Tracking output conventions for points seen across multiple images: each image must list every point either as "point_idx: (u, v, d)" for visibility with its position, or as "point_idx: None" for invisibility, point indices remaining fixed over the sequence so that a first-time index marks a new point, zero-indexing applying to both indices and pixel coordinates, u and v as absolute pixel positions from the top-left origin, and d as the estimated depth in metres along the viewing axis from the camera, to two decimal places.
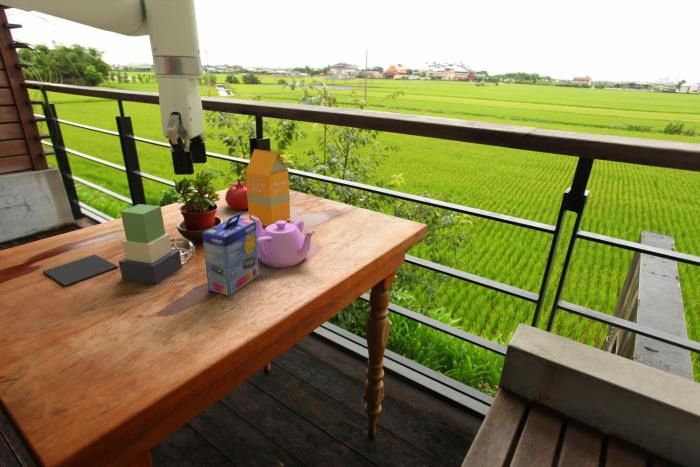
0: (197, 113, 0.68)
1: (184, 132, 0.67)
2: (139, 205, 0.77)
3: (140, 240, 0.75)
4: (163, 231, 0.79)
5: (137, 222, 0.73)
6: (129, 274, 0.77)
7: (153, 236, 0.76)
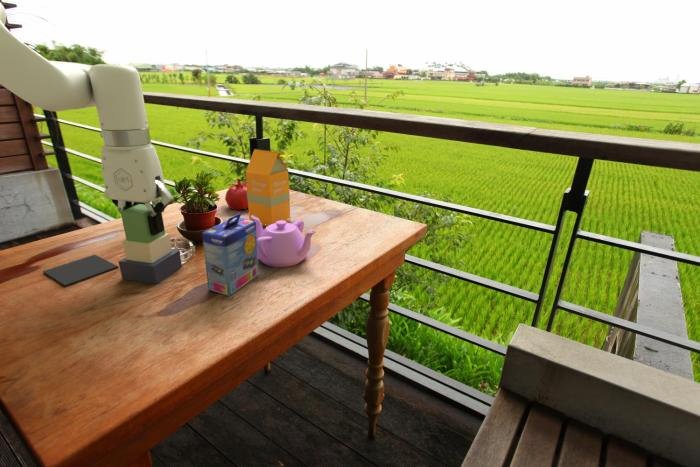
0: None
1: None
2: (139, 205, 0.77)
3: (140, 240, 0.75)
4: (163, 231, 0.79)
5: (137, 221, 0.73)
6: (129, 274, 0.77)
7: (153, 236, 0.76)
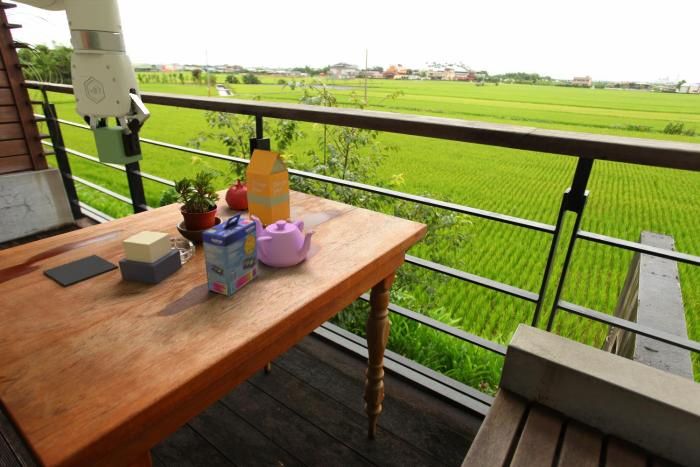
0: None
1: None
2: (114, 126, 0.71)
3: (114, 161, 0.69)
4: (140, 156, 0.73)
5: (110, 140, 0.68)
6: (129, 274, 0.77)
7: (128, 158, 0.70)
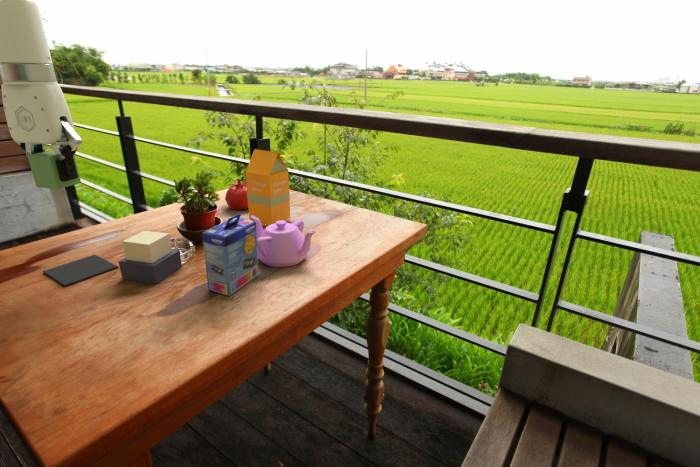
0: None
1: (61, 136, 0.70)
2: (51, 151, 0.74)
3: (49, 186, 0.72)
4: (78, 179, 0.75)
5: (44, 165, 0.70)
6: (129, 274, 0.77)
7: (64, 182, 0.72)
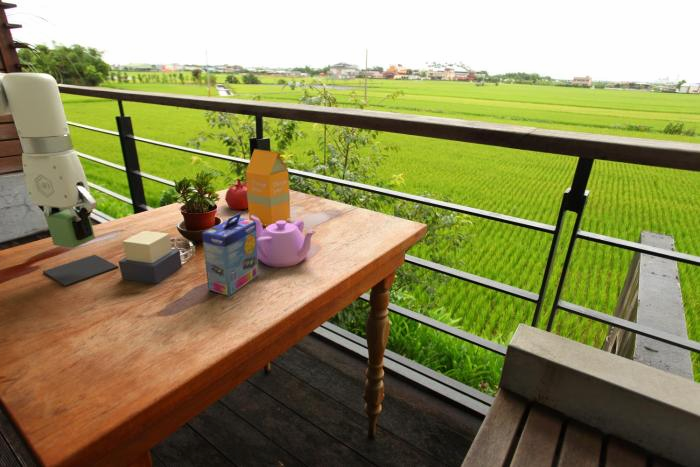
0: None
1: (78, 198, 0.75)
2: (67, 210, 0.78)
3: (66, 245, 0.76)
4: (92, 235, 0.80)
5: (61, 227, 0.75)
6: (129, 274, 0.77)
7: (80, 241, 0.77)
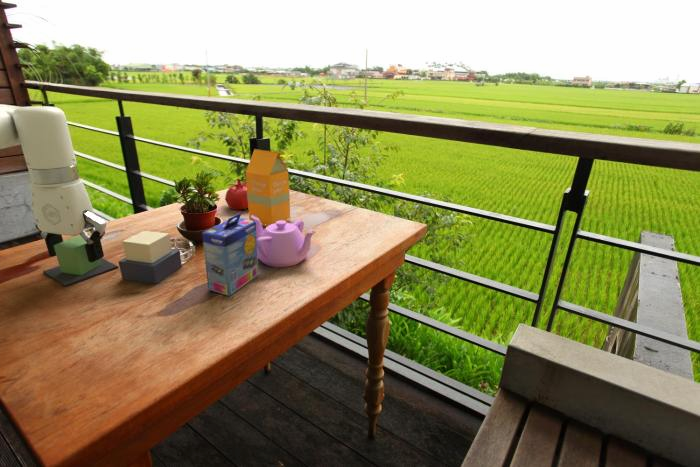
0: None
1: (83, 225, 0.77)
2: (74, 238, 0.80)
3: (73, 272, 0.78)
4: (99, 262, 0.82)
5: (69, 255, 0.77)
6: (129, 274, 0.77)
7: (87, 268, 0.79)
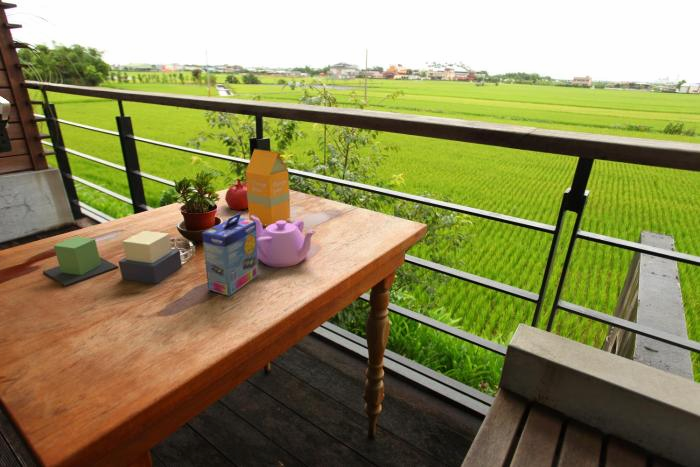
0: None
1: None
2: (74, 238, 0.80)
3: (73, 272, 0.78)
4: (99, 262, 0.82)
5: (69, 255, 0.77)
6: (129, 274, 0.77)
7: (87, 268, 0.79)
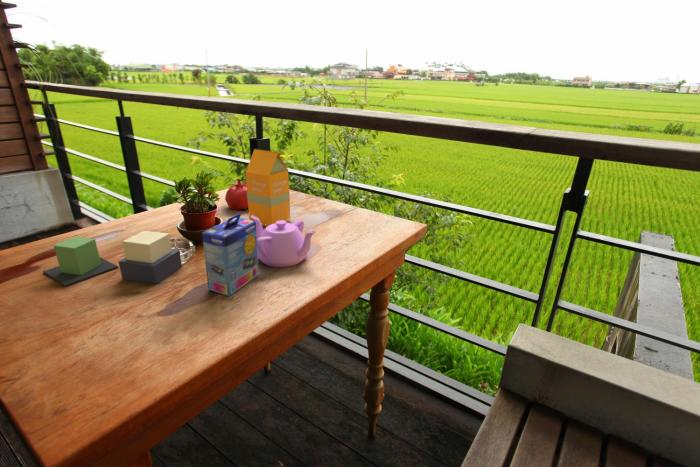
0: None
1: None
2: (74, 238, 0.80)
3: (73, 272, 0.78)
4: (99, 262, 0.82)
5: (69, 255, 0.77)
6: (129, 274, 0.77)
7: (87, 268, 0.79)
